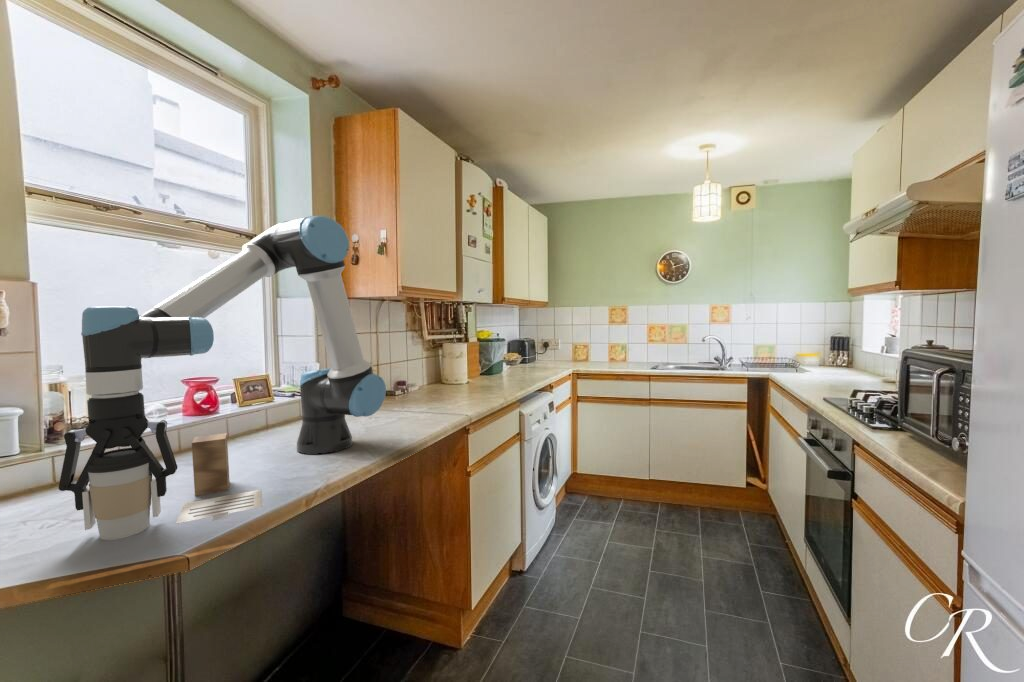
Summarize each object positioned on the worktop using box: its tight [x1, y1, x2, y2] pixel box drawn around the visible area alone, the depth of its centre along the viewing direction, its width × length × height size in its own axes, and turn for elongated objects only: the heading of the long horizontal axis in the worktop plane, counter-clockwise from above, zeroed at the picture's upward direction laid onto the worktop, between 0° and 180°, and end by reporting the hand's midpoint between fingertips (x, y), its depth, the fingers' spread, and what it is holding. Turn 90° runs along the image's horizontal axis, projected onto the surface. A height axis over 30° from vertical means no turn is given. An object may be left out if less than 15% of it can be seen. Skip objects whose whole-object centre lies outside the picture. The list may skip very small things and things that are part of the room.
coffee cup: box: [86, 447, 153, 541], centre depth 81 cm, size 9×9×15 cm
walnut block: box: [191, 432, 231, 497], centre depth 101 cm, size 6×6×12 cm
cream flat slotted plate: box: [175, 488, 263, 524], centre depth 92 cm, size 17×15×1 cm
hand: (124, 520), depth 82 cm, fingers closed on coffee cup, 8 cm apart
